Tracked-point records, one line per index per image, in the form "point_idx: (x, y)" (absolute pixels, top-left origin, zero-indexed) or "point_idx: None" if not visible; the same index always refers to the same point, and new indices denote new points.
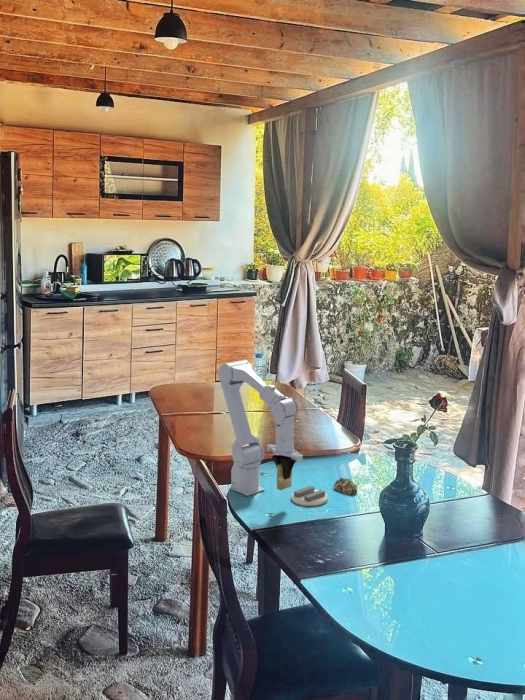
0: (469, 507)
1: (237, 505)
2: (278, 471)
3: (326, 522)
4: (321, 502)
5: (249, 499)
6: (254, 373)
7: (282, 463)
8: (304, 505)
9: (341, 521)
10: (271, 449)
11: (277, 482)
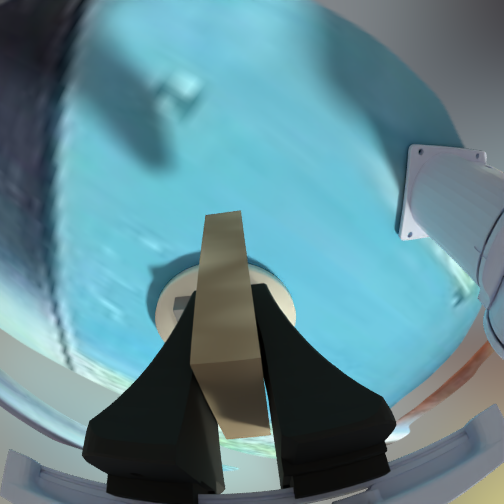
0: (71, 434)
1: (364, 45)
2: (225, 303)
3: (31, 252)
4: (157, 325)
5: (382, 129)
6: None
7: (157, 409)
8: (178, 274)
9: (31, 289)
10: (450, 478)
11: (236, 235)
